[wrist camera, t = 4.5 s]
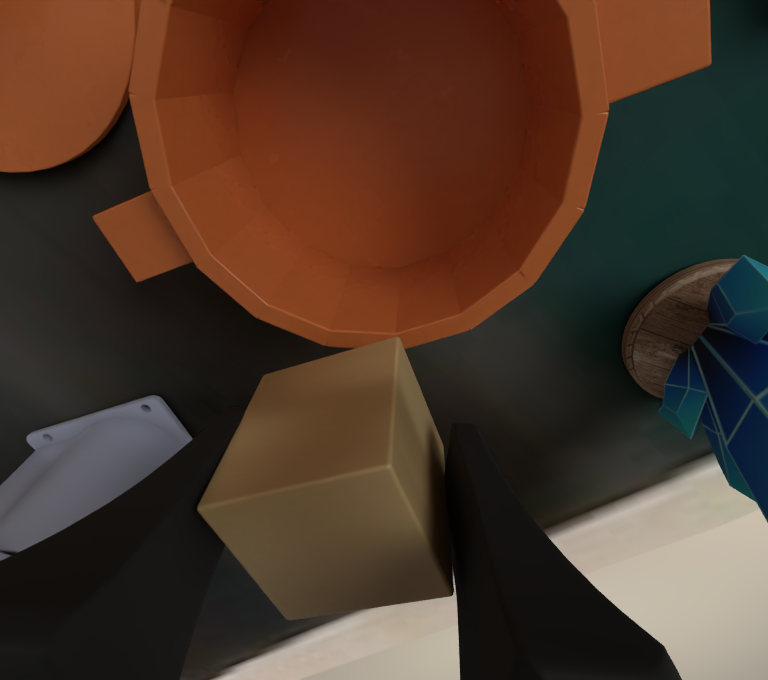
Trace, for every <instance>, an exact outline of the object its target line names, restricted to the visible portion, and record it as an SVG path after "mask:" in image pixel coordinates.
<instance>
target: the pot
mask: <svg viewBox="0 0 768 680" xmlns="http://www.w3.org/2000/svg"><path fill="white" fill-rule="evenodd" d="M709 65H711V29H710V0H141V2H140V10H139V17H138V24H137V32H136V39H135V47H134V54H133V61H132V69H131V76H130V83H129V93H130V94H129V99H130V103H131V108H132V112H133V117H134V121H135V126H136V130H137V135H138V139H139V144H140V148H141V153H142V157H143V162H144V166H145V171H146V175H147V180H148V184H149V188H150V189H151V191H149V192H147V193H144V194H142V195H140V196H137V197H135V198H133V199H130V200H128V201H126V202H123V203H121V204H119V205H116V206H114V207H112V208H110V209H107V210H105V211H103V212H100V213H98V214H96V215H94V216H93V217H92V218H93V220H94V221H95V223H96V224H97V225H98V227H99V228H100V230H101V231H102V233H103V234H104V236H105V237H106V239H107V240H108V242H109V243H110V244H111V246H112V247H113V249H114V250H115V252H116V253H117V255H118V256H119V258H120V259H121V260H122V262H123V263H124V265H125V266H126V268H127V269H128V271H129V272H130V274H131V275H132V277H133V278H134V279H135V281H136V282H141V281H143V280H146V279H149V278H151V277H154V276H157V275H159V274H162V273H164V272H167V271H170V270H172V269H175V268H178V267H180V266H183V265H186V264H188V263H191V262H194V264H195V265H197V266H196V267H197V268H198V269H199V270H200V271H202V272H203V273H204V274H205V275H206V276H207V277H209V278H210V279H211V280H212V281H213V282H214V283H216V284H217V285H218V286H219V287H220V288H221V289H223V290H224V291H225V292H226V293H227V294H228V295H230V296H231V297H232V298H233V299H234V300H235V301H237V302H238V303H239V304H240V305H241V306H242V307H244V308H245V309H246V310H247V311H248V312H249V313H251V314H252V315H253V316H254V317H255V318H258V319H260V320H262V321H265V322H267V323H269V324H272V325H274V326H277V327H279V328H282V329H284V330H287V331H289V332H291V333H294V334H296V335H299V336H301V337H304V338H306V339H309V340H311V341H314V342H316V343H318V344H321V345H323V346H326V345H327V346H328V347H340V348H359V347H362V346H366V345H369V344H372V343H376V342H379V341H383V340H386V339H390V338H393V337H399V338H400V340H401V342H402V345H403V347H404V349H407V348H411V347H414V346H417V345H421V344H424V343H428V342H431V341H435V340H438V339H442V338H445V337H448V336H452V335H455V334H459V333H462V332H466V331H468V330H469V329H470V330H471V329H473V328H474V327H476V326H477V325H478V324H480V323H481V322H483V321H484V320H485V319H487V318H488V317H489V316H491V315H492V314H494V313H495V312H496V311H498V310H499V309H501V308H502V307H503V306H505V305H506V304H507V303H509V302H510V301H512V300H513V299H514V298H516V297H517V296H518V295H520V294H521V293H523V292H524V291H525V290H527V289H528V288H530V287H531V286H532V285H533V284H534V283H535V282H536V281H537V280H538V278H539V277H540V275H541V274H542V272H543V271H544V269H545V268H546V266H547V265H548V263H549V262H550V260H551V259H552V258H553V256H554V255H555V253H556V252H557V250H558V249H559V247H560V246H561V244H562V243H563V241H564V240H565V238H566V237H567V236H568V234H569V233H570V231H571V230H572V228H573V227H574V225H575V224H576V222H577V221H578V219H579V218H580V216H581V215H582V214H583V212H584V208H585V207H586V203H587V199H588V195H589V191H590V187H591V183H592V179H593V175H594V171H595V167H596V163H597V159H598V155H599V151H600V147H601V143H602V139H603V135H604V131H605V127H606V123H607V119H608V115H609V114H608V112H607V111H609V104H611V103H613V102H616V101H619V100H621V99H624V98H627V97H629V96H632V95H635V94H637V93H640V92H643V91H645V90H648V89H650V88H653V87H656V86H658V85H661V84H664V83H666V82H669V81H672V80H674V79H677V78H680V77H682V76H685V75H688V74H690V73H693V72H695V71H698V70H701V69H703V68H706V67H708V66H709Z"/></svg>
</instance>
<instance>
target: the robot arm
mask: <svg viewBox="0 0 768 680" xmlns="http://www.w3.org/2000/svg"><path fill="white" fill-rule="evenodd" d="M146 405H147V406H149V407H150V408H149V407H147V406H146ZM246 409H247V408H246V407H233V406H230V407H229V408H227V409H226V410H225V411H224V412H223V413H222V414H220V415H219V416H218V417H217V418H216V419H215V420H214V421H213V422H211V423H210V424H209V425H208V426H207V427H206V428H205V429H204V430H203V431H201V432H200V433H199V434H198V435H197V436H196V437H195V438H192V437H191V436H190V434H189V433H188V432H187V430H186V429H185V428H184V426H183V425H182V424H181V422H180V421H179V420H178V418H177V417H176V416H175V414H174V413H173V412H172V410H171V409H170V408H169V407H168V405H167V404H166V403H165V401H164V400H163V399H162V398H161V397H159V396H156V395H150V396H147V397H144V398H141V399H137V400H134V401H131V402H128V403H124V404H121V405H118V406H115V407H111V408H108V409H105V410H102V411H98V412H95V413H92V414H88V415H85V416H82V417H79V418H75V419H72V420H69V421H66V422H62V423H59V424H56V425H53V426H49V427H46V428H43V429H40V430H36V431H33V432H31V433H30V434H29V435H28V436H27V438H26V439H27V442H28V443H29V444H30V445H31V446H32V447H33V448H34V449H35V450H36V451H35V452H34V453H33V454H32V455H31V456H30V457H29V458H28V459H27V460H26V461H25V462H24V463H23V464H22V465H21V466H20V467H19V468H18V469H17V470H16V471H15V472H14V473H13V474H11V475H10V476H9V477H8V478H7V479H6V480H5V481H4V482H3V483H2V484H1V485H0V680H179V679H180V676H181V672H182V669H183V665H184V662H185V658H186V655H187V652H188V649H189V645H190V642H191V639H192V636H193V632H194V629H195V626H196V623H197V620H198V616H199V613H200V610H201V607H202V604H203V601H204V598H205V595H206V592H207V589H208V586H209V583H210V580H211V578H212V575H213V573H214V570H215V568H216V565H217V563H218V561H219V558H220V556H221V554H222V551H223V549H224V547H225V544H224V543H223V542H222V541H221V539H220V538H219V537H218V536H217V534H216V533H215V532H214V531H213V530H212V528H211V527H210V526H209V525H208V524H207V522H206V521H205V520H204V519H203V517H202V516H201V515H200V514H199V513H198V511H197V506H198V504H199V502H200V500H201V498H202V496H203V494H204V492H205V490H206V488H207V486H208V484H209V482H210V480H211V478H212V476H213V474H214V472H215V470H216V468H217V466H218V464H219V462H220V460H221V458H222V456H223V454H224V452H225V450H226V448H227V446H228V445H229V443H230V441H231V439H232V437H233V435H234V433H235V432H236V430H237V428H238V426H239V424H240V422H241V420H242V418H243V416H244V413H245V411H246ZM444 476H445V490H446V503H447V511H448V519H449V533H450V547H451V556H452V563H453V571H454V578H455V585H456V595H457V608H458V631H459V656H460V680H682V679H681V677H680V675H679V673H678V671H677V669H676V667H675V665H674V664H673V662H672V660H671V658H670V656H669V655H668V653H667V651H666V649H665V647H664V646H663V645H662V644H660V642H658V641H657V640H656V639H655V638H653V637H652V636H651V635H650V634H649V633H647V632H646V631H645V630H643V629H642V628H641V627H640V626H639V625H637V624H636V623H635V622H634V621H633V620H631V619H630V618H629V617H628V616H627V615H625V614H624V613H623V612H622V611H621V610H619V609H618V608H617V607H616V606H615V605H614V604H613V603H612V602H611V601H609V600H608V599H607V598H606V597H605V596H604V595H603V594H602V593H601V592H599V591H598V590H597V589H596V588H595V587H594V586H593V585H592V584H591V583H590V582H589V581H588V580H587V578H586V577H585V576H584V575H583V574H582V573H581V572H580V571H579V570H578V569H577V568H576V567H575V566H574V565H573V564H572V563H571V562H570V561H569V560H568V559H567V558H566V557H565V556H564V555H563V554H562V553H561V551H560V550H559V549H558V548H557V547H556V546H555V545H554V543H553V542H552V541H551V540H550V539H549V538H548V536H547V535H546V534H545V533H544V532H543V530H542V529H541V528H540V527H539V525H538V524H537V523H536V522H535V520H534V519H533V518H532V516H531V515H530V514H529V512H528V511H527V510H526V508H525V507H524V506H523V504H522V503H521V501H520V500H519V499H518V497H517V496H516V494H515V493H514V491H513V490H512V488H511V487H510V485H509V484H508V482H507V480H506V479H505V477H504V476H503V474H502V472H501V471H500V469H499V468H498V466H497V464H496V463H495V461H494V459H493V457H492V456H491V454H490V452H489V450H488V448H487V446H486V445H485V443H484V441H483V439H482V437H481V435H480V433H479V431H478V428H477V427H476V426H475V425H471V424H458V423H453V424H452V430H451V436H450V443H449V449H448V455H447V461H446V468H445V474H444Z"/></svg>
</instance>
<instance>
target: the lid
mask: <svg viewBox="0 0 768 680" xmlns="http://www.w3.org/2000/svg"><path fill="white" fill-rule="evenodd" d="M139 10H140V0H0V172H9V173H13V172H33V171H38V170H44V169H49V168H53V167H56V166H59V165H62V164H65V163H67V162H70V161H73V160H75V159H76V158H78V157H80V156H81V155H83V154H85V153H87V152H88V151H90V150H91V149H92V148H93V147H94V146H95V145H97V144H98V143H99V142H100V141H101V140H102V139H103V138H104V137H105V136H106V135H107V134H108V132H109V131H110V130H111V129H112V127H113V126H114V125H115V124H116V122H117V120H118V118H119V117H120V115H121V113H122V111H123V109H124V108H125V106H126V104H127V101H128V98H129V94H130V93H129V83H130V76H131V69H132V61H133V54H134V47H135V39H136V32H137V24H138V17H139Z"/></svg>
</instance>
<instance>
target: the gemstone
mask: <svg viewBox="0 0 768 680" xmlns="http://www.w3.org/2000/svg"><path fill="white" fill-rule="evenodd" d="M622 357H623V360H624V363H625V366H626V368H627V370H628V371H629V373H630V374H631V376H632V377H633V378H634V380H635V381H636V382H637V384H638V385H639V386H641V387H642V388H643V389H644V390H645V391H647V392H648V393H650V394H652V395H654V396H656V397H659V398H662V399H663V400H662V402H661V404H660V407H659V409H658V413H659V414H660V415H661V416H663V417H664V418H665V419H666V420H668V421H669V422H670V423H671V424H672V425H674V426H675V427H676V428H677V429H679V430H680V431H681V432H682V433H684V434H685V435H686V436H687V437H689V438H690V439H692V437H693V436H694V435H695V433H696V432H697V430H698V428H699V424H700V421H702V425H703V427H704V430H705V432H706V434H707V437H708V439H709V442H710V444H711V446H712V449H713V451H714V453H715V456H716V458H717V461H718V463H719V465H720V467H721V469H722V471H723V473H724V475H725V477H726V479H727V481H728V483H729V485H730V486H731V487H733V488H734V489H736V490H738V491H739V492H741V493H742V494H744V495H746V496H747V497H749V498H751V499H752V500H754V501H755V502H757V504H758V506H759V508H760V509H761V511H762V513H763V515H764V517H765V518H766V520H767V522H768V266H766V265H763V264H761V263H759V262H757V261H755V260H753V259H751V258H749V257H747V256H745V255H742V256H741V258H740V259H719V260H713V261H708V262H704V263H700V264H697V265H694V266H692V267H689V268H686V269H684V270H682V271H680V272H678V273H676V274H674V275H673V276H671V277H669V278H667V279H666V280H664V281H663V282H662V283H660V284H659V285H658V286H656V287H655V288H654V289H653V290H652V291H651V292H649V293H648V294H647V295H646V296H645V298H644V299H643V300H642V301H641V302H640V303H639V304H638V306H637V307H636V309H635V310H634V311H633V313H632V315H631V316H630V318H629V320H628V322H627V325H626V327H625V330H624V333H623V338H622Z"/></svg>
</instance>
